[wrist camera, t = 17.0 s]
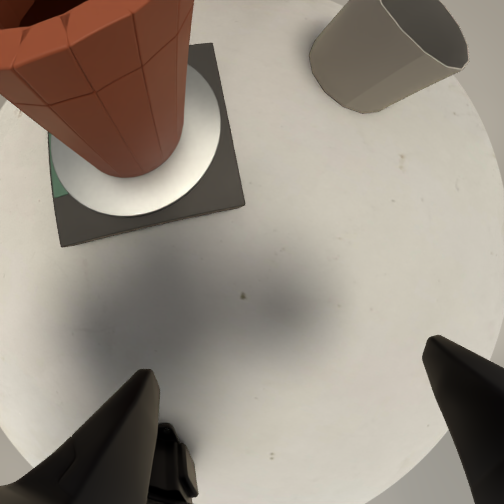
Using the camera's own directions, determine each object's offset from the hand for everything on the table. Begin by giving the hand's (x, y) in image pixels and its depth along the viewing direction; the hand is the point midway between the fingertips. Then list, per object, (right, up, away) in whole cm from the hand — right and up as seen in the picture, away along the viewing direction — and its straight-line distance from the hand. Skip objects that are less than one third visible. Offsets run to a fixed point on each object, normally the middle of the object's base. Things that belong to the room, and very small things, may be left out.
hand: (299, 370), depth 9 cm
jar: (-8, +11, +6) cm, 15 cm away
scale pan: (-8, +11, +7) cm, 15 cm away
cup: (+7, +19, +13) cm, 24 cm away
